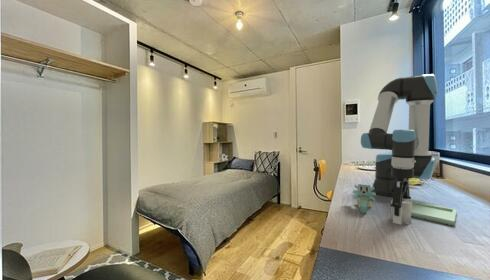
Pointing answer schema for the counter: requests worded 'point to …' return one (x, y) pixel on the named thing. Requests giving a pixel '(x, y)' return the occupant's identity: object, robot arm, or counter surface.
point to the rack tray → (434, 213)
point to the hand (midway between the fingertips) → (400, 218)
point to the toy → (364, 196)
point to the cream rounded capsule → (404, 211)
